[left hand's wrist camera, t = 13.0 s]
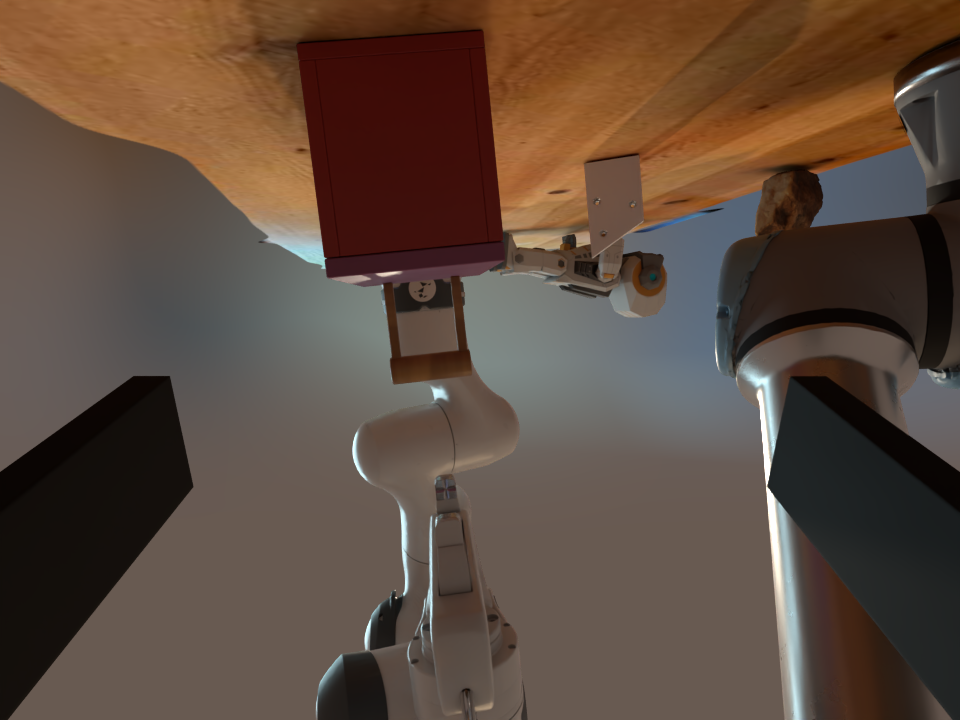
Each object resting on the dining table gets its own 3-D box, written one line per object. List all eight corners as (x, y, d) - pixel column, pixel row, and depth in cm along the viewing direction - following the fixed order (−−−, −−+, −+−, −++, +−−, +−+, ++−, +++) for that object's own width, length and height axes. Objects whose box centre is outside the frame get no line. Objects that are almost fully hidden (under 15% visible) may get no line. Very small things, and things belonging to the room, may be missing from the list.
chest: (465, 124, 45) (479, 261, 46) (343, 134, 44) (360, 273, 45) (483, 30, 30) (503, 240, 31) (296, 43, 29) (324, 257, 30)
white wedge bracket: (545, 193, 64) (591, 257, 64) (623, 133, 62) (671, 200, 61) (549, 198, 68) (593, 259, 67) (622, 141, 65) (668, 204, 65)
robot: (482, 224, 140) (631, 246, 151) (474, 302, 141) (623, 319, 151) (523, 201, 112) (703, 230, 122) (513, 299, 113) (692, 319, 123)
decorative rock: (747, 173, 80) (751, 252, 81) (793, 162, 76) (797, 246, 77) (785, 177, 88) (788, 250, 89) (829, 168, 83) (832, 244, 84)
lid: (478, 262, 47) (489, 368, 48) (361, 274, 46) (374, 381, 47) (503, 241, 31) (519, 402, 32) (324, 258, 30) (345, 422, 31)
